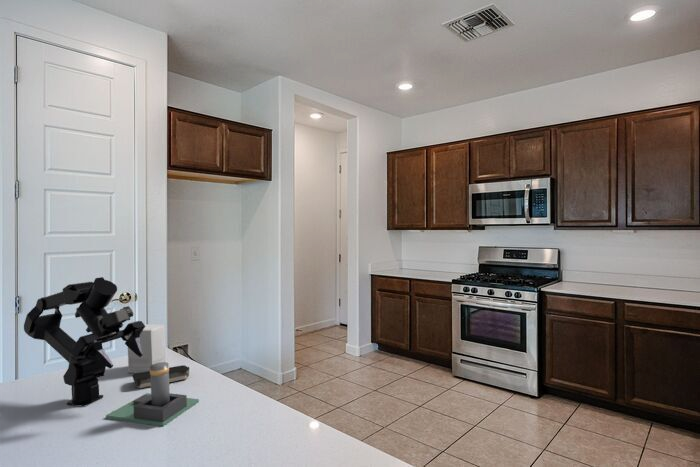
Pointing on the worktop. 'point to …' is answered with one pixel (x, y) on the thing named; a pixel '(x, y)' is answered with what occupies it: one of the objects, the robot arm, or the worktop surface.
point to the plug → (160, 384)
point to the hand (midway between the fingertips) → (127, 361)
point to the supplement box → (148, 349)
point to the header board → (152, 410)
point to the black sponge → (174, 375)
